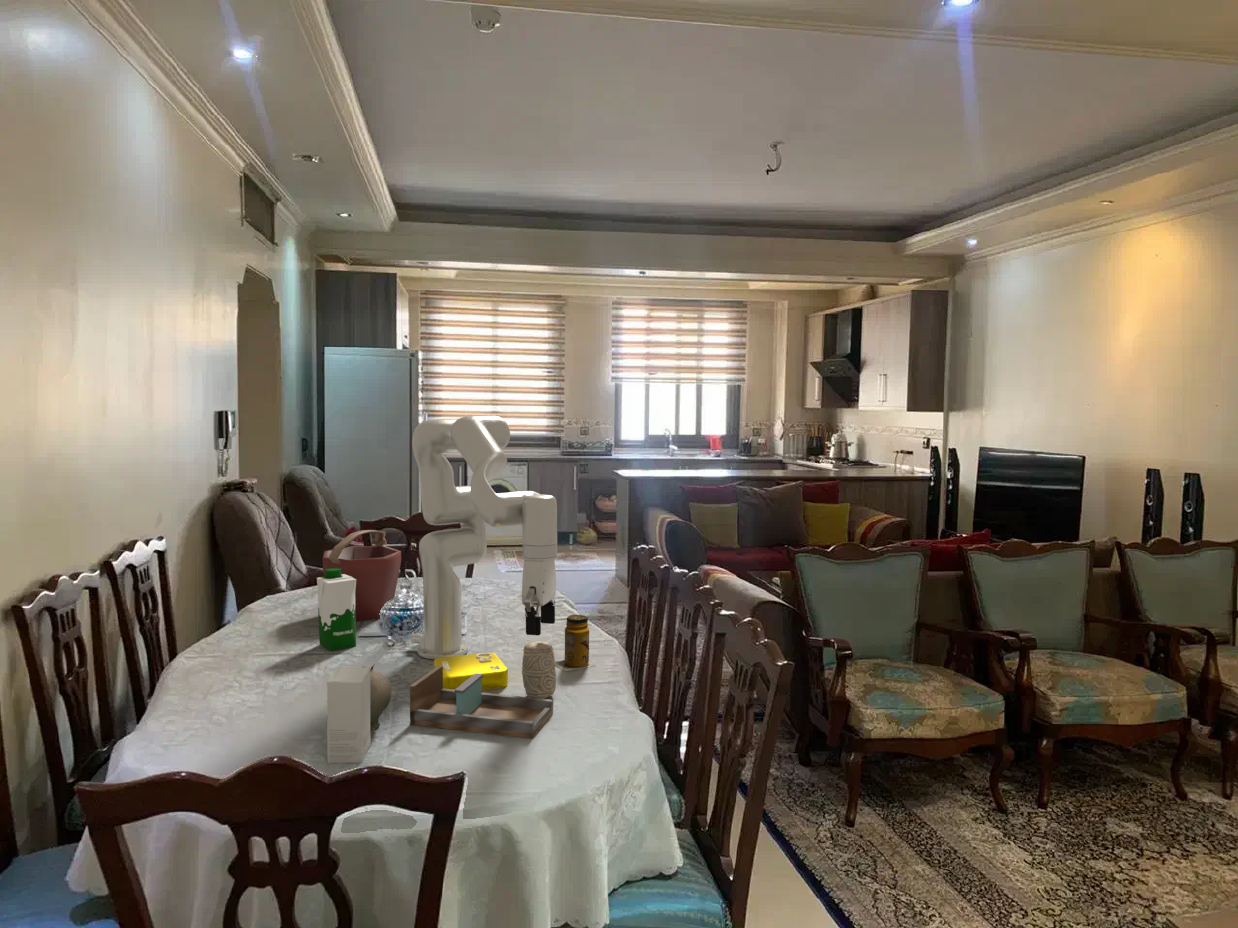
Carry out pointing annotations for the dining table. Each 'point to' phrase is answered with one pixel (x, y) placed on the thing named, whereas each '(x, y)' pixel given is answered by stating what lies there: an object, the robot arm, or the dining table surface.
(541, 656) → the carving
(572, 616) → the condiment
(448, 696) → the pusher lane
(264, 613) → the dining table surface
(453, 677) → the yellow rounded box
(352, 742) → the skincare box
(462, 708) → the pusher plate
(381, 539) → the bucket
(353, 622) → the milk carton
